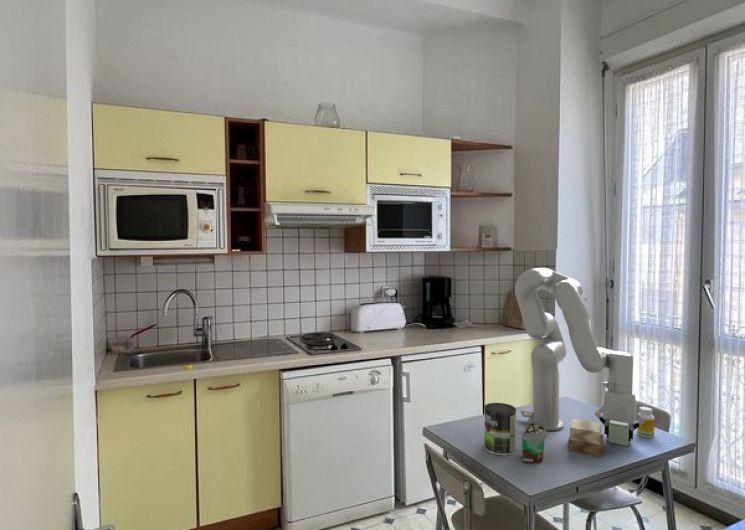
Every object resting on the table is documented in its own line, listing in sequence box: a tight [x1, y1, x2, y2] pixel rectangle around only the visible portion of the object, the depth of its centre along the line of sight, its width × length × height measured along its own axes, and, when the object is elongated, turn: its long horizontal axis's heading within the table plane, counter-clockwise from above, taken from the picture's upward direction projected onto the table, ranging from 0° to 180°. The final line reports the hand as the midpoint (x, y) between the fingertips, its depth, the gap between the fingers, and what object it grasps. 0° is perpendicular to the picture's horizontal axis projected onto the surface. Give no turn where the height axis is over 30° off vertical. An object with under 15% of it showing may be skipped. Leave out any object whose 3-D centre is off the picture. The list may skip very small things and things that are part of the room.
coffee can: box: [483, 402, 517, 457], centre depth 153 cm, size 10×10×14 cm
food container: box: [521, 421, 548, 465], centre depth 145 cm, size 12×6×10 cm, turn 148°
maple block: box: [569, 418, 602, 445], centre depth 154 cm, size 9×9×4 cm
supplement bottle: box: [636, 406, 655, 439], centre depth 164 cm, size 5×5×10 cm
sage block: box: [608, 420, 629, 447], centre depth 159 cm, size 6×6×6 cm
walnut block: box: [567, 433, 604, 457], centre depth 154 cm, size 10×10×4 cm
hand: (618, 438), depth 159 cm, fingers closed on sage block, 6 cm apart
